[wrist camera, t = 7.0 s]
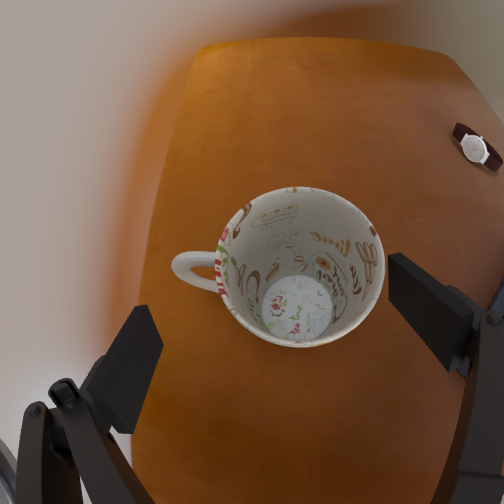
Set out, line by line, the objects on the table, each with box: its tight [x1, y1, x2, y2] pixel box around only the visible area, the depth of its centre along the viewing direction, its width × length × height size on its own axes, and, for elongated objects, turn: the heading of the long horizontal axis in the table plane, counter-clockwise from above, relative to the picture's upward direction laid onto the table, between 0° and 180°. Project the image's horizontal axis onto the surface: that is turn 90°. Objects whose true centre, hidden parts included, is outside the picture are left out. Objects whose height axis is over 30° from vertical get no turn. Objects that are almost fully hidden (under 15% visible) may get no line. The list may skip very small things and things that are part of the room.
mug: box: [171, 187, 385, 347], centre depth 19 cm, size 8×13×10 cm, turn 82°
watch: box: [453, 123, 503, 172], centre depth 26 cm, size 8×5×4 cm, turn 36°
